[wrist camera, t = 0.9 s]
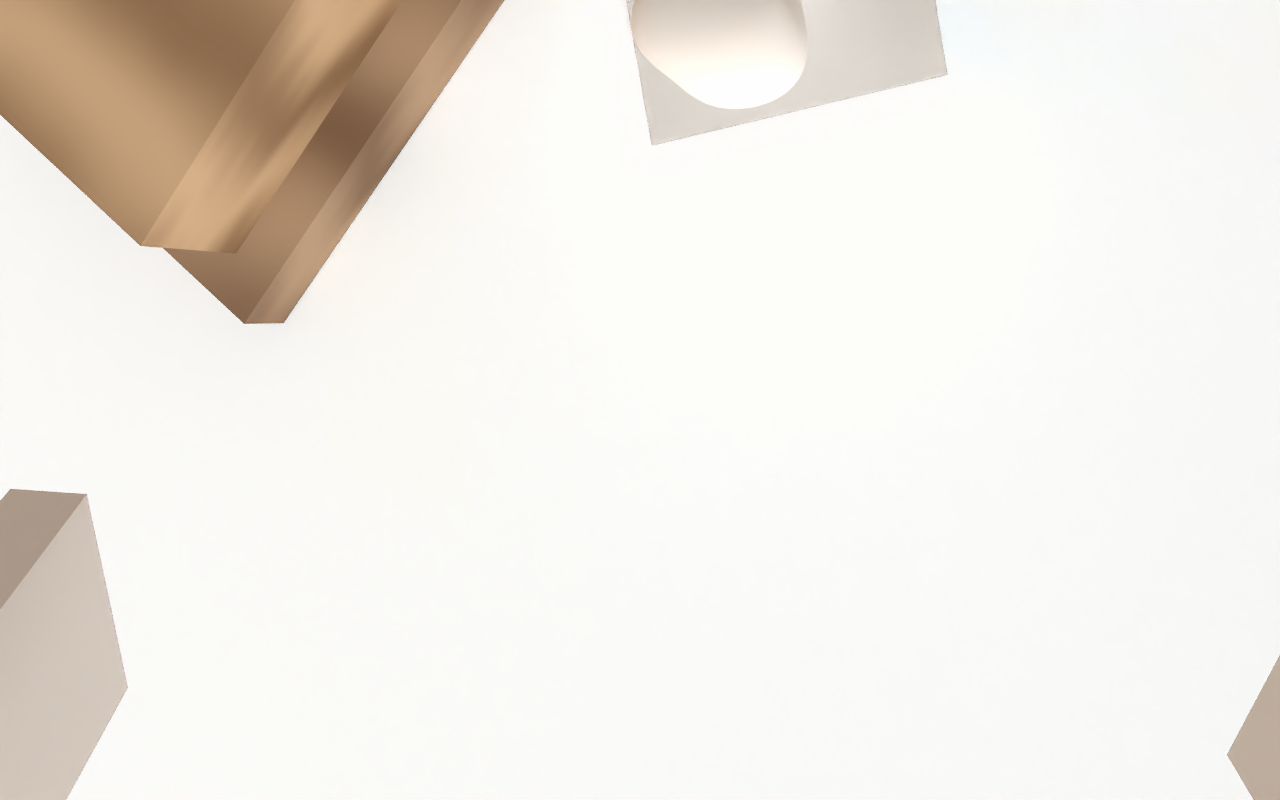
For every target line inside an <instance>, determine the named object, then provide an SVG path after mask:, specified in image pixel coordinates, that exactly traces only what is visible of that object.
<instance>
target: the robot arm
mask: <svg viewBox="0 0 1280 800" xmlns="http://www.w3.org/2000/svg"><path fill="white" fill-rule="evenodd" d="M127 688H128V686H127V682H126V677H125V672H124V667H123V663H122V658H121V653H120V649H119V644H118V639H117V634H116V630H115V625H114V620H113V616H112V611H111V606H110V601H109V597H108V592H107V587H106V583H105V578H104V573H103V569H102V564H101V559H100V554H99V550H98V545H97V540H96V536H95V531H94V526H93V521H92V517H91V512H90V507H89V503H88V498H87V494H75V493H61V492H46V491H32V490H18V489H10V490H9V491H8V493H7V494H6V495H5V496H4V497H3V498H2V500H1V501H0V800H66V799H67V797H68V796H69V794H70V792H71V790H72V788H73V786H74V785H75V783H76V781H77V779H78V777H79V775H80V774H81V772H82V770H83V768H84V766H85V765H86V763H87V761H88V759H89V757H90V755H91V754H92V752H93V750H94V748H95V746H96V745H97V743H98V741H99V739H100V737H101V735H102V734H103V732H104V730H105V728H106V726H107V724H108V723H109V721H110V719H111V717H112V715H113V714H114V712H115V710H116V708H117V706H118V704H119V703H120V701H121V699H122V697H123V695H124V693H125V692H126V690H127ZM1227 756H1228V757H1229V759H1230V761H1231V762H1232V764H1233V766H1234V767H1235V769H1236V771H1237V772H1238V774H1239V776H1240V777H1241V779H1242V781H1243V783H1244V784H1245V786H1246V788H1247V789H1248V791H1249V793H1250V794H1251V796H1252V798H1253V799H1254V800H1280V656H1279V658H1278V660H1277V661H1276V663H1275V665H1274V667H1273V669H1272V671H1271V673H1270V675H1269V677H1268V678H1267V680H1266V682H1265V684H1264V686H1263V688H1262V690H1261V692H1260V694H1259V695H1258V697H1257V699H1256V701H1255V703H1254V705H1253V707H1252V709H1251V710H1250V712H1249V714H1248V716H1247V718H1246V720H1245V722H1244V724H1243V726H1242V727H1241V729H1240V731H1239V733H1238V735H1237V737H1236V739H1235V741H1234V743H1233V744H1232V746H1231V748H1230V750H1229V752H1228V754H1227Z"/></svg>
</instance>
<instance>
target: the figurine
mask: <svg viewBox="0 0 1280 800" xmlns="http://www.w3.org/2000/svg"><path fill="white" fill-rule="evenodd" d="M626 2H627V7H628V13H629V19H630V25H631V31H632V36H633V42H634V47H635V53H636V59H637V64H638V70H639V76H640V81H641V87H642V93H643V98H644V104H645V110H646V115H647V121H648V127H649V133H650V138H651V144H652V145H657V144H661V143H665V142H669V141H673V140H677V139H682V138H686V137H690V136H694V135H698V134H703V133H707V132H711V131H715V130H719V129H723V128H728V127H732V126H736V125H740V124H744V123H748V122H753V121H757V120H761V119H765V118H769V117H773V116H778V115H782V114H786V113H790V112H794V111H798V110H803V109H807V108H811V107H815V106H819V105H824V104H828V103H832V102H836V101H840V100H844V99H849V98H853V97H857V96H861V95H865V94H869V93H874V92H878V91H882V90H886V89H890V88H894V87H899V86H903V85H907V84H911V83H915V82H920V81H924V80H928V79H932V78H936V77H940V76H945V75H948V73H947V67H946V61H945V55H944V49H943V43H942V37H941V31H940V25H939V19H938V13H937V7H936V1H935V0H626Z"/></svg>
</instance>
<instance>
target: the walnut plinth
mask: <svg viewBox="0 0 1280 800" xmlns="http://www.w3.org/2000/svg"><path fill="white" fill-rule="evenodd" d="M503 1H504V0H0V115H1V116H2V117H3V118H5V119H6V120H7V121H8V122H9V123H10V124H11V125H12V126H13V127H14V128H15V129H16V130H17V131H18V132H19V133H21V134H22V135H23V136H24V137H25V138H26V139H27V140H28V141H29V142H30V143H31V144H32V145H33V146H34V147H35V148H37V149H38V150H39V151H40V152H41V153H42V154H43V155H44V156H45V157H46V158H47V159H48V160H49V161H50V162H51V163H53V164H54V165H55V166H56V167H57V168H58V169H59V170H60V171H61V172H62V173H63V174H64V175H65V176H66V177H68V178H69V179H70V180H71V181H72V182H73V183H74V184H75V185H76V186H77V187H78V188H79V189H80V190H81V191H82V192H84V193H85V194H86V195H87V196H88V197H89V198H90V199H91V200H92V201H93V202H94V203H95V204H96V205H97V206H98V207H100V208H101V209H102V210H103V211H104V212H105V213H106V214H107V215H108V216H109V217H110V218H111V219H112V220H113V221H114V222H116V223H117V224H118V225H119V226H120V227H121V228H122V229H123V230H124V231H125V232H126V233H127V234H128V235H129V236H130V237H132V238H133V239H134V240H135V241H136V242H137V243H138V244H139V245H140V246H149V247H161V248H164V249H165V250H166V251H167V252H168V253H169V254H170V255H171V256H172V257H173V258H174V259H175V260H176V261H177V262H179V263H180V264H181V265H182V266H183V267H184V268H185V269H186V270H187V271H188V272H189V273H190V274H191V275H192V276H194V277H195V278H196V279H197V280H198V281H199V282H200V283H201V284H202V285H203V286H204V287H205V288H206V289H208V290H209V291H210V292H211V293H212V294H213V295H214V296H215V297H216V298H217V299H218V300H219V301H220V302H221V303H223V304H224V305H225V306H226V307H227V308H228V309H229V310H230V311H231V312H232V313H233V314H234V315H235V316H236V317H238V318H239V319H240V320H241V321H242V322H243V323H244V324H254V323H284V321H285V320H286V319H287V317H288V316H289V314H290V313H291V311H292V310H293V308H294V307H295V305H296V304H297V302H298V301H299V299H300V298H301V297H302V295H303V294H304V292H305V291H306V289H307V288H308V286H309V285H310V283H311V282H312V280H313V279H314V278H315V276H316V275H317V273H318V272H319V270H320V269H321V267H322V266H323V264H324V263H325V261H326V260H327V259H328V257H329V256H330V254H331V253H332V251H333V250H334V248H335V247H336V245H337V244H338V242H339V241H340V240H341V238H342V237H343V235H344V234H345V232H346V231H347V229H348V228H349V226H350V225H351V223H352V222H353V220H354V219H355V218H356V216H357V215H358V213H359V212H360V210H361V209H362V207H363V206H364V204H365V203H366V201H367V200H368V199H369V197H370V196H371V194H372V193H373V191H374V190H375V188H376V187H377V185H378V184H379V182H380V181H381V180H382V178H383V177H384V175H385V174H386V172H387V171H388V169H389V168H390V166H391V165H392V163H393V162H394V161H395V159H396V158H397V156H398V155H399V153H400V152H401V150H402V149H403V147H404V146H405V144H406V143H407V141H408V140H409V139H410V137H411V136H412V134H413V133H414V131H415V130H416V128H417V127H418V125H419V124H420V122H421V121H422V120H423V118H424V117H425V115H426V114H427V112H428V111H429V109H430V108H431V106H432V105H433V103H434V102H435V101H436V99H437V98H438V96H439V95H440V93H441V92H442V90H443V89H444V87H445V86H446V84H447V83H448V82H449V80H450V79H451V77H452V76H453V74H454V73H455V71H456V70H457V68H458V67H459V65H460V64H461V62H462V61H463V60H464V58H465V57H466V55H467V54H468V52H469V51H470V49H471V48H472V46H473V45H474V43H475V42H476V41H477V39H478V38H479V36H480V35H481V33H482V32H483V30H484V29H485V27H486V26H487V24H488V23H489V22H490V20H491V19H492V17H493V16H494V14H495V13H496V11H497V10H498V8H499V7H500V5H501V4H502V3H503Z"/></svg>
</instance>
